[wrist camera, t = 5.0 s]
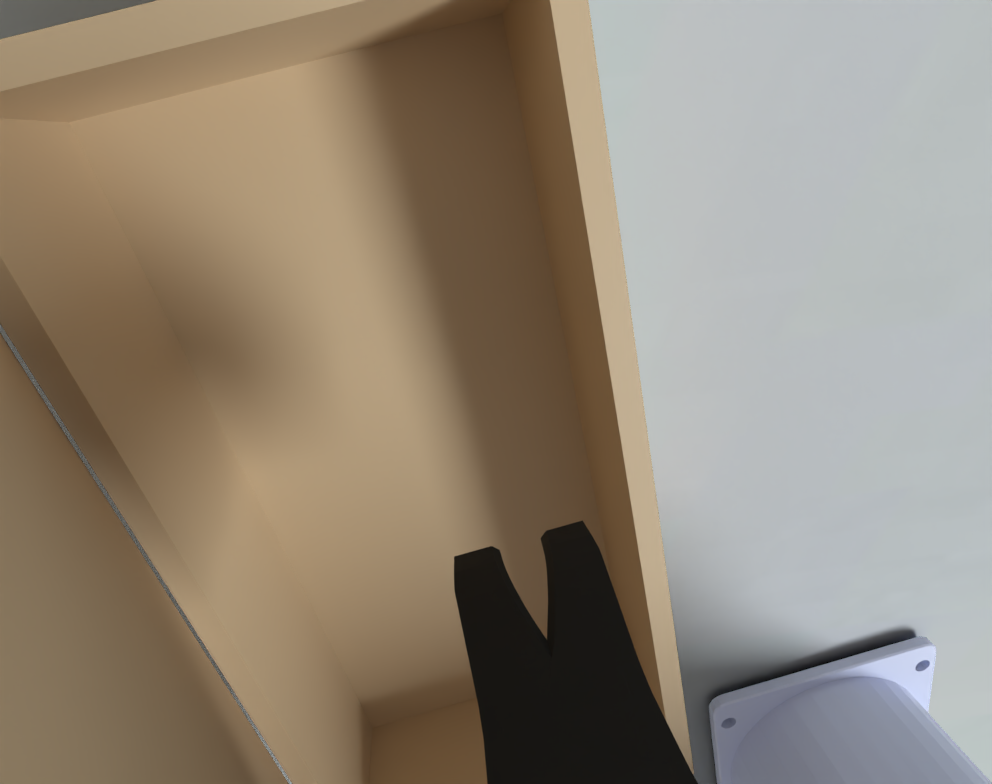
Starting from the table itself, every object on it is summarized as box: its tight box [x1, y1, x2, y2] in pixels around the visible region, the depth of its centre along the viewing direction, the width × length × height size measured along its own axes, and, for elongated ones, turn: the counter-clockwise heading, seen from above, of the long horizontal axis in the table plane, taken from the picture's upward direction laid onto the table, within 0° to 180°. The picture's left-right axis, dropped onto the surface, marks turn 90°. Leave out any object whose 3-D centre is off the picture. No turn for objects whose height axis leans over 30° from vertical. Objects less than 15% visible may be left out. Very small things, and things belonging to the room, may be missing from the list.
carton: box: [0, 0, 694, 784], centre depth 12 cm, size 18×9×4 cm, turn 13°
